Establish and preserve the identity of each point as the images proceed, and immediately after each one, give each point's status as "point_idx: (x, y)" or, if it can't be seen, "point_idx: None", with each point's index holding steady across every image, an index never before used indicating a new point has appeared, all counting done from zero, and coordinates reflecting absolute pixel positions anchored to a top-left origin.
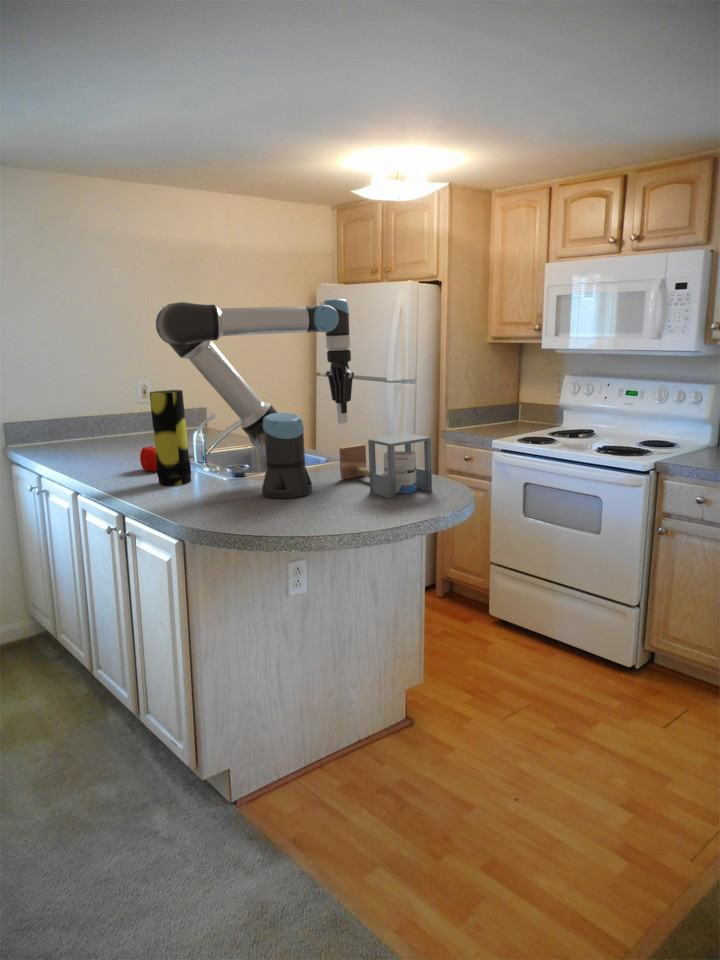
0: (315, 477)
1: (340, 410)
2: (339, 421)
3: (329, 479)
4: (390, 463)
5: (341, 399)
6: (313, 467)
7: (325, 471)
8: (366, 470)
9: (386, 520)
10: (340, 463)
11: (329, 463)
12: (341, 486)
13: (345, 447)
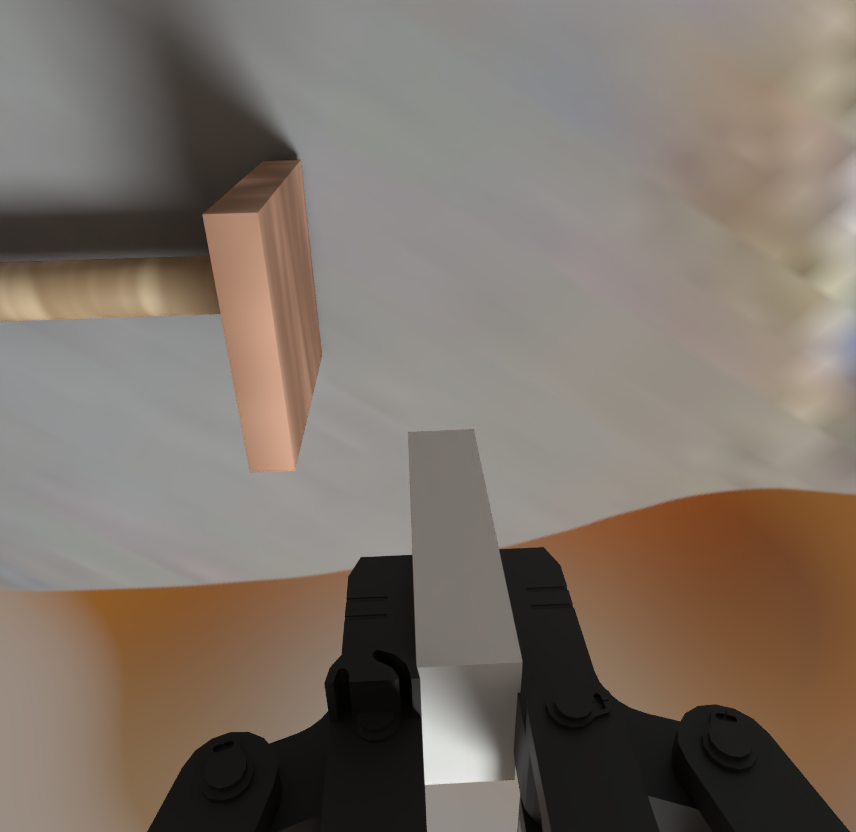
0: (508, 36)
1: (412, 572)
2: (432, 447)
3: (364, 90)
4: None
5: (325, 776)
6: (817, 222)
7: (628, 218)
8: (67, 281)
9: None
10: (274, 180)
11: (814, 372)
12: (72, 27)
13: (243, 277)
